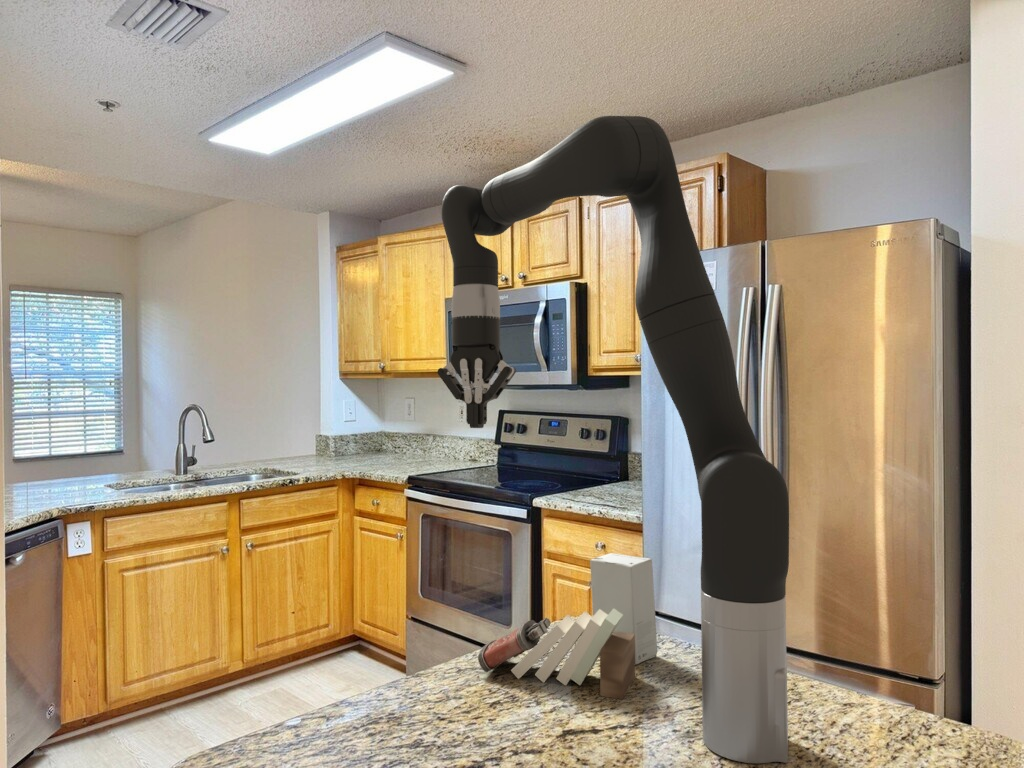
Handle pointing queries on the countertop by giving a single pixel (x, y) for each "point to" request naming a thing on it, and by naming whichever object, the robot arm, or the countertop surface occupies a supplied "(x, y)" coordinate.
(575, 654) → the domino
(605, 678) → the block
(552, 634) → the domino
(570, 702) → the countertop surface
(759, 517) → the robot arm
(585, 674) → the domino
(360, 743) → the countertop surface
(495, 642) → the lighter
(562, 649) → the domino
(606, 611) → the skincare box
